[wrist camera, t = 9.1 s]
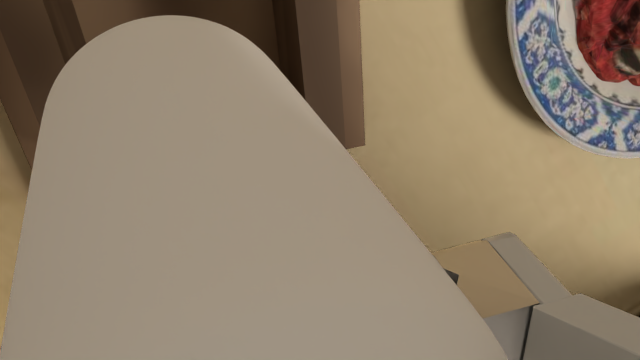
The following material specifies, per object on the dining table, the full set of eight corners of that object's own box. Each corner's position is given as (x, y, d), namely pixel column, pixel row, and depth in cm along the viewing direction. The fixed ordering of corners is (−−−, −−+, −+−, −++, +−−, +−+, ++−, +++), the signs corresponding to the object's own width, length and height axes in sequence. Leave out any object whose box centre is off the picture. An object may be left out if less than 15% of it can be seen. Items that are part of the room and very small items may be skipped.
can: (-15, 67, 13) (-351, 797, 3) (247, -30, 13) (636, 296, 4) (116, 261, 16) (153, 860, 7) (313, 176, 17) (595, 598, 8)
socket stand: (340, -225, 21) (402, -241, 16) (357, 134, 30) (401, 196, 25) (-112, -186, 19) (-206, -191, 14) (53, 198, 27) (34, 281, 22)
